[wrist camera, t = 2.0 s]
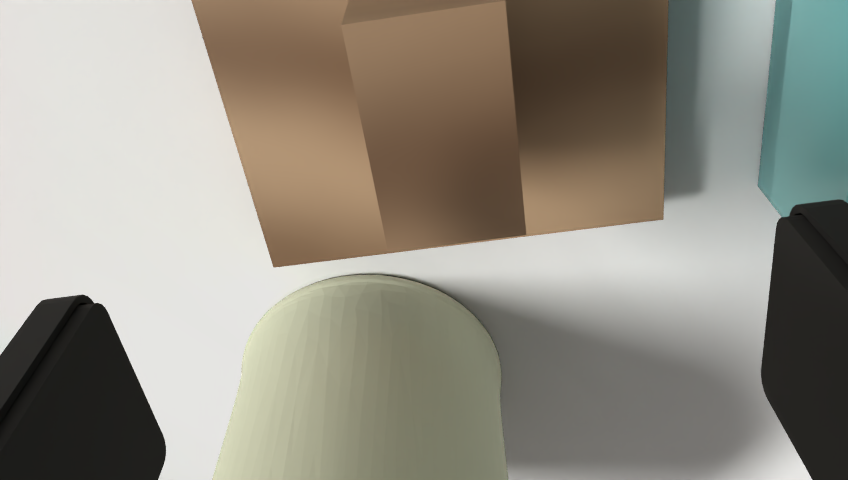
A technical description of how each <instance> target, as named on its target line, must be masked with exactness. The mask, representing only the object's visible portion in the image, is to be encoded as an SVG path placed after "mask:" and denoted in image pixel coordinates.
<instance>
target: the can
mask: <svg viewBox="0 0 848 480" xmlns="http://www.w3.org/2000/svg"><path fill="white" fill-rule="evenodd" d="M501 379H502V376H501V366H500V360H499V356H498V353H497V350H496V348H495V345H494V343H493V341H492V339H491V337H490V335H489V334H488V332H487V330H486V329H485V328H484V327H483V325H482V324H481V323H480V321H479V320H478V319H477V318H476V317H475V316H474V315H473V314H472V313H471V312H470V311H469V310H467V309H466V308H465V307H464V306H463V305H462V304H460V303H459V302H457V301H456V300H454V299H453V298H451V297H450V296H448V295H446V294H444V293H442V292H441V291H438V290H436V289H434V288H432V287H429V286H426V285H424V284H421V283H418V282H415V281H411V280H407V279H402V278H398V277H392V276H384V275H351V276H342V277H336V278H331V279H327V280H324V281H320V282H316V283H314V284H311V285H309V286H306V287H304V288H301V289H299V290H298V291H296V292H294V293H292V294H290V295H288V296H287V297H285V298H284V299H283V300H281V301H280V302H278V303H277V304H276V305H274V306H273V307H272V308H271V309H270V310H269V311H268V312H267V313H266V314H265V315H264V316H263V317H262V318H261V320H260V321H259V322H258V324H257V325H256V326H255V328H254V330H253V332H252V333H251V335H250V337H249V339H248V342H247V344H246V347H245V351H244V354H243V360H242V376H241V380H240V384H239V388H238V392H237V396H236V400H235V403H234V407H233V410H232V414H231V417H230V421H229V424H228V428H227V431H226V434H225V438H224V441H223V445H222V448H221V451H220V455H219V458H218V462H217V465H216V468H215V472H214V475H213V478H212V480H508V472H507V463H506V454H505V445H504V436H503V427H502V418H501V405H500V391H501Z"/></svg>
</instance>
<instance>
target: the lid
mask: <svg viewBox="0 0 848 480" xmlns="http://www.w3.org/2000/svg"><path fill="white" fill-rule="evenodd" d="M192 3H193V7H194V10H195V13H196V16H197V20H198V23H199V26H200V30H201V33H202V36H203V39H204V43H205V46H206V49H207V52H208V56H209V59H210V62H211V65H212V69H213V72H214V75H215V78H216V82H217V85H218V88H219V91H220V95H221V98H222V101H223V104H224V108H225V111H226V114H227V117H228V121H229V124H230V127H231V130H232V134H233V137H234V140H235V143H236V147H237V150H238V153H239V156H240V160H241V163H242V166H243V169H244V173H245V176H246V179H247V182H248V186H249V189H250V192H251V195H252V199H253V202H254V205H255V208H256V212H257V215H258V218H259V221H260V225H261V228H262V231H263V234H264V238H265V241H266V244H267V247H268V251H269V254H270V257H271V261H272V264H273V267H282V266H290V265H298V264H306V263H314V262H322V261H330V260H338V259H346V258H355V257H363V256H371V255H379V254H387V253H395V252H403V251H411V250H419V249H428V248H436V247H444V246H452V245H460V244H468V243H476V242H484V241H492V240H500V239H509V238H517V237H525V236H533V235H541V234H549V233H557V232H565V231H573V230H582V229H590V228H598V227H606V226H614V225H622V224H630V223H638V222H646V221H655V220H663V211H664V168H665V126H666V83H667V41H668V0H192Z"/></svg>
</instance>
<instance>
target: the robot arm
mask: <svg viewBox="0 0 848 480" xmlns="http://www.w3.org/2000/svg"><path fill="white" fill-rule="evenodd" d="M761 378H762V384H763V388H764V392H765V394H766V397H767V399H768V401H769V402H770V404H771V406H772V408H773V410H774V411H775V413H776V415H777V417H778V419H779V420H780V422H781V424H782V426H783V428H784V429H785V431H786V433H787V435H788V437H789V438H790V440H791V442H792V444H793V445H794V447H795V449H796V451H797V453H798V454H799V456H800V458H801V460H802V462H803V463H804V465H805V467H806V469H807V471H808V472H809V474H810V476H811V478H812V480H848V203H847V202H845V201H844V200H840V199H837V200H829V201H821V202H813V203H805V204H797V205H795V206H794V207H793V208H792V210H791V212H790V215H789V216H788V217H781V218H780V219H779V221H778V223H777V227H776V234H775V244H774V253H773V263H772V272H771V282H770V291H769V301H768V310H767V320H766V329H765V339H764V348H763V358H762V367H761ZM165 456H166V445H165V440H164V437H163V434H162V432H161V430H160V428H159V425H158V423H157V421H156V419H155V416H154V414H153V412H152V410H151V408H150V405H149V403H148V401H147V399H146V396H145V394H144V392H143V390H142V388H141V385H140V383H139V381H138V379H137V376H136V374H135V372H134V370H133V368H132V365H131V363H130V361H129V359H128V356H127V354H126V352H125V350H124V348H123V345H122V343H121V341H120V339H119V336H118V334H117V332H116V330H115V328H114V325H113V323H112V321H111V319H110V316H109V314H108V312H107V310H106V309H105V307H104V306H103V305H102V304H99V303H94V302H93V301H92V300H91V299H90V298H89V297H88V296H85V295H77V296H69V297H61V298H53V299H46V300H43V301H41V302H40V303H39V304H38V305H37V306H36V307H35V309H34V310H33V311H32V313H31V314H30V316H29V317H28V318H27V320H26V321H25V322H24V324H23V325H22V326H21V328H20V329H19V331H18V332H17V333H16V335H15V336H14V337H13V339H12V340H11V341H10V343H9V344H8V346H7V347H6V348H5V350H4V351H3V352H2V354H1V355H0V480H158V478H159V475H160V473H161V470H162V468H163V465H164V461H165Z"/></svg>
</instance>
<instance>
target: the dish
mask: <svg viewBox="0 0 848 480" xmlns="http://www.w3.org/2000/svg"><path fill="white" fill-rule="evenodd" d="M758 187H759V188H760V189H761V191H762V192H763V193H764V195H765V196H766V197H767V198H768V200H769V201H770V202H771V204H772V205H773V206H774V207H775V209H776V210H777V211H778V213H779V214H780V215H781V216H782V217H788V216H789V215H790V212H791V210H792V208H793V207H794V206H795V205H797V204H805V203H813V202H821V201H829V200H837V199H840V200H844V201H845V202H847V203H848V0H776V6H775V16H774V27H773V37H772V47H771V57H770V67H769V78H768V88H767V98H766V108H765V118H764V128H763V139H762V149H761V159H760V169H759V179H758Z"/></svg>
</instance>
